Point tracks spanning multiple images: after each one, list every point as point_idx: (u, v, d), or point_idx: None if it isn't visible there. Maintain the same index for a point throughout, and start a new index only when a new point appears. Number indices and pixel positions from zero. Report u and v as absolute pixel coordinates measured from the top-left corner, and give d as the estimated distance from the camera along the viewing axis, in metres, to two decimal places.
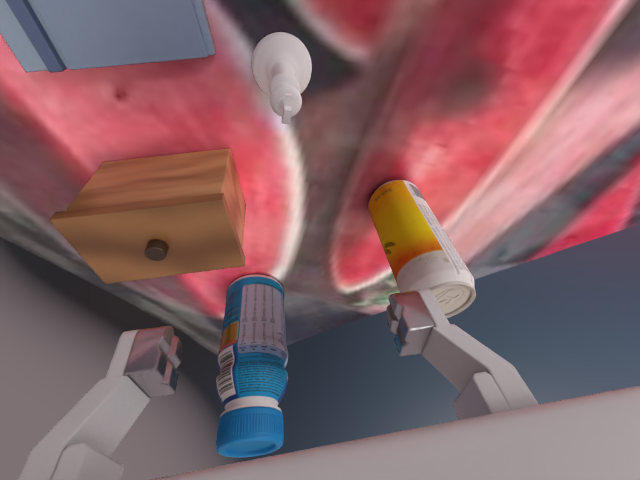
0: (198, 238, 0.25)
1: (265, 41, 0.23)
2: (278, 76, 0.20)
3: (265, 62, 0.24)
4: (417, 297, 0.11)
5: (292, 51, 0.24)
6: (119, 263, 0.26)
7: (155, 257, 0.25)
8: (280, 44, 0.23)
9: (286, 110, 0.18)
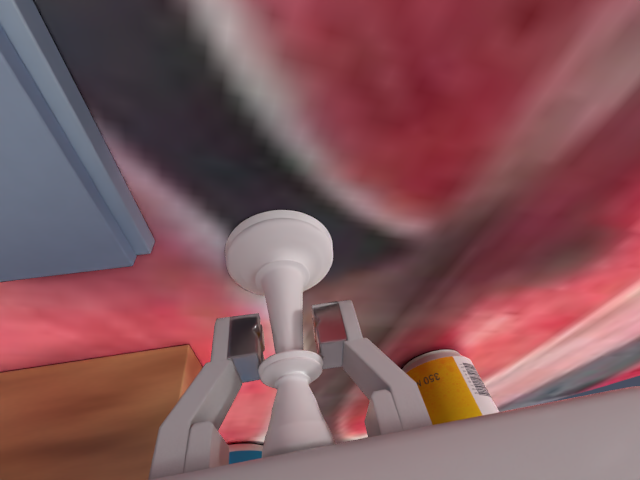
0: None
1: (250, 231, 0.12)
2: (280, 360, 0.09)
3: (250, 262, 0.13)
4: (336, 309, 0.11)
5: (301, 244, 0.13)
6: None
7: None
8: (279, 237, 0.12)
9: None
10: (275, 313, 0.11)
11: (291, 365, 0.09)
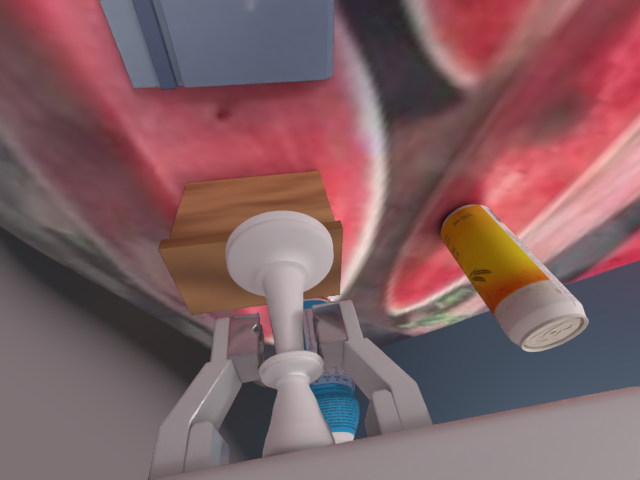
0: None
1: (251, 232, 0.12)
2: (280, 361, 0.09)
3: (251, 262, 0.13)
4: (336, 309, 0.11)
5: (301, 245, 0.13)
6: (214, 293, 0.24)
7: None
8: (280, 238, 0.12)
9: None
10: (276, 314, 0.11)
11: (292, 366, 0.09)
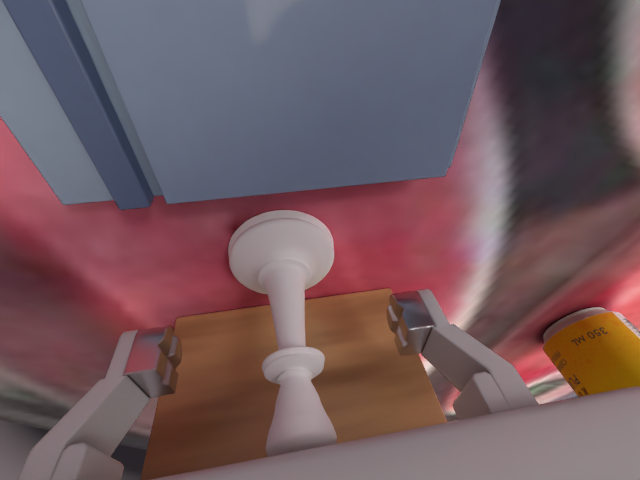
0: None
1: (253, 231, 0.12)
2: (283, 356, 0.10)
3: (253, 261, 0.13)
4: (417, 297, 0.11)
5: (303, 244, 0.13)
6: None
7: None
8: (281, 236, 0.12)
9: None
10: (278, 311, 0.11)
11: (294, 361, 0.10)
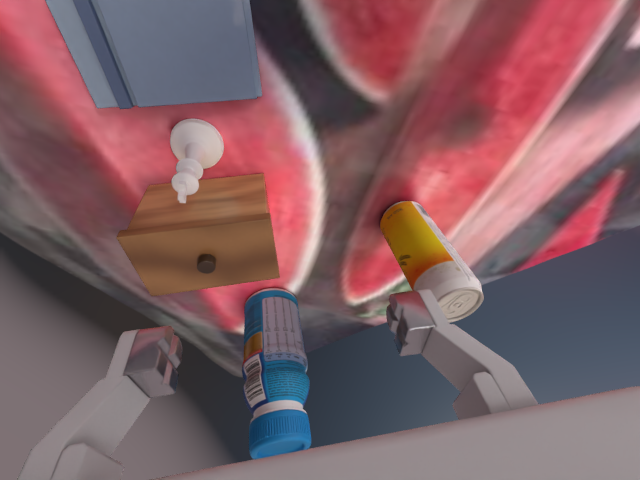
0: (244, 252, 0.28)
1: (179, 126, 0.28)
2: (182, 161, 0.25)
3: (180, 142, 0.29)
4: (417, 297, 0.11)
5: (202, 134, 0.28)
6: (169, 276, 0.29)
7: (205, 270, 0.28)
8: (191, 129, 0.28)
9: (179, 195, 0.22)
10: (187, 156, 0.27)
11: (186, 163, 0.25)
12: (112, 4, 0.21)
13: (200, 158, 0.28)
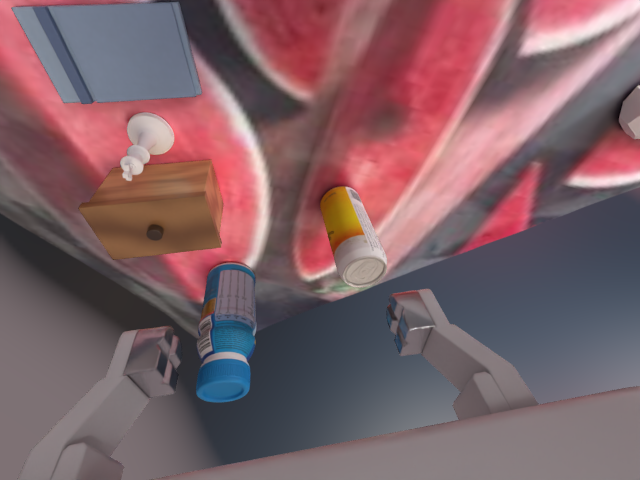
0: (186, 224, 0.34)
1: (133, 118, 0.34)
2: (131, 147, 0.31)
3: (135, 132, 0.34)
4: (417, 297, 0.11)
5: (153, 125, 0.34)
6: (125, 243, 0.35)
7: (154, 237, 0.34)
8: (144, 121, 0.34)
9: (123, 174, 0.28)
10: (138, 143, 0.33)
11: (135, 149, 0.31)
12: (69, 21, 0.27)
13: (150, 145, 0.34)
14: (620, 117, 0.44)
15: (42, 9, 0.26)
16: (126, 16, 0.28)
